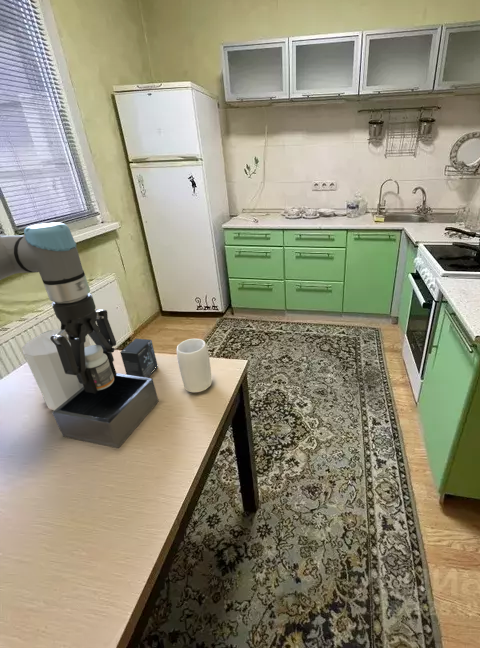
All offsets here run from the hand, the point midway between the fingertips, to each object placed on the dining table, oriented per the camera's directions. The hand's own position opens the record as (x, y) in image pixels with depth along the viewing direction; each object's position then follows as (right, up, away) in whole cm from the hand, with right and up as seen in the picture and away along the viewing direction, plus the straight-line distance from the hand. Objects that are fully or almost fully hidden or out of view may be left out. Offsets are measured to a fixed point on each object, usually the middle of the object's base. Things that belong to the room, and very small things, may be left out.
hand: (101, 382), depth 79 cm
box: (+1, -3, +22) cm, 22 cm away
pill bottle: (0, 0, 0) cm, 1 cm away
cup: (+20, -5, +15) cm, 25 cm away
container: (-16, -7, +14) cm, 22 cm away
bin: (0, -10, +5) cm, 12 cm away
